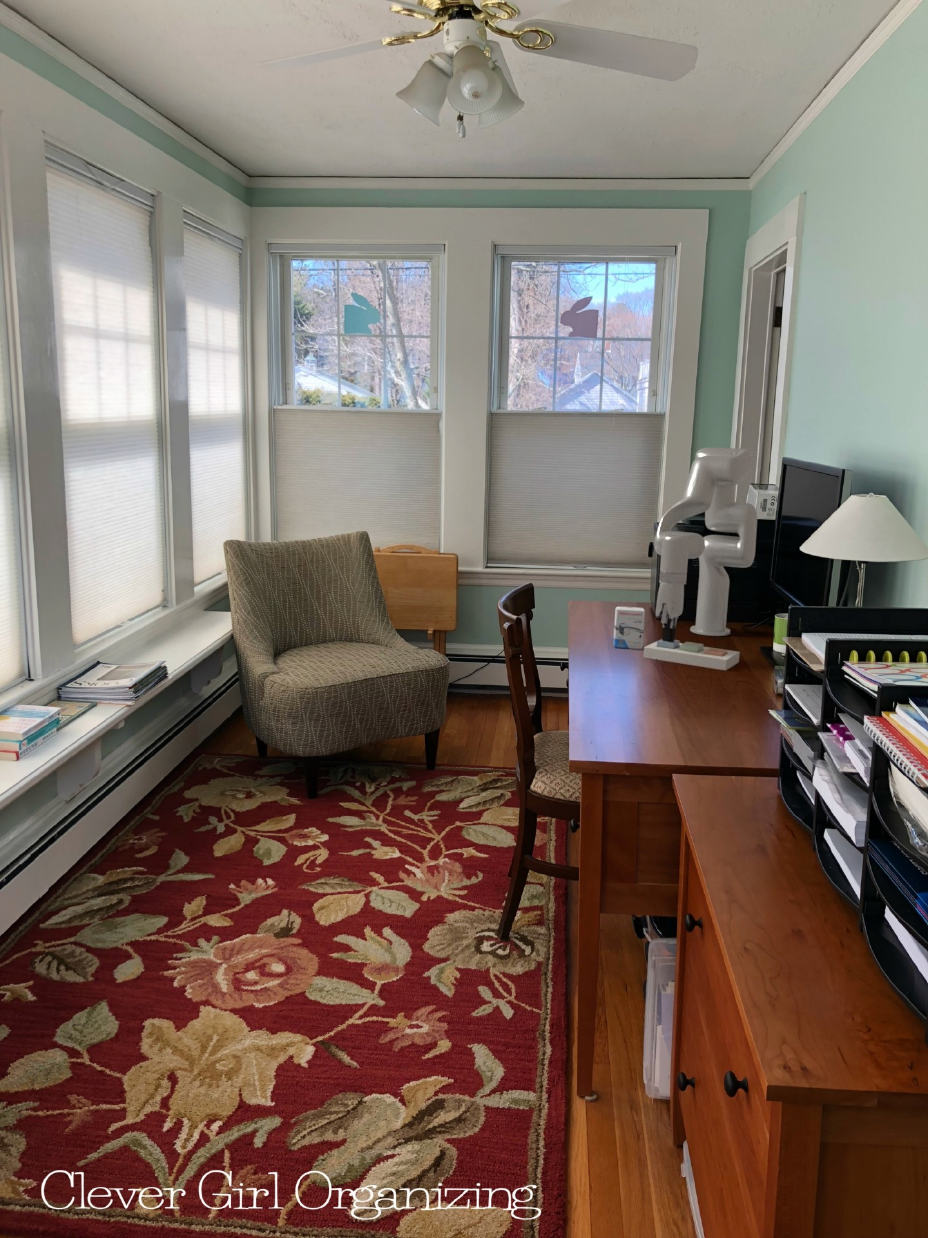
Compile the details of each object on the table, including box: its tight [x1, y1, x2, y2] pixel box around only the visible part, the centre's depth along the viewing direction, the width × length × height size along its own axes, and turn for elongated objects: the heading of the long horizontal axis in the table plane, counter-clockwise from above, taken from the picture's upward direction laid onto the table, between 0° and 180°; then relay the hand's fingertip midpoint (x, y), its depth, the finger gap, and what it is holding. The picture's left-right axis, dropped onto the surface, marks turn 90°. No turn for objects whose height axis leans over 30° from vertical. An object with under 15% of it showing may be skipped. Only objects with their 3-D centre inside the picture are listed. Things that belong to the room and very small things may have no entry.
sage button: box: [680, 641, 704, 653], centre depth 276 cm, size 5×5×3 cm
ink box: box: [612, 606, 646, 650], centre depth 290 cm, size 9×5×12 cm, turn 84°
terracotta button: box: [704, 647, 727, 657], centre depth 273 cm, size 5×5×3 cm
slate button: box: [657, 638, 681, 649], centre depth 280 cm, size 5×5×3 cm
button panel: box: [642, 640, 741, 671], centre depth 276 cm, size 12×24×3 cm, turn 58°
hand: (668, 640), depth 279 cm, fingers closed
